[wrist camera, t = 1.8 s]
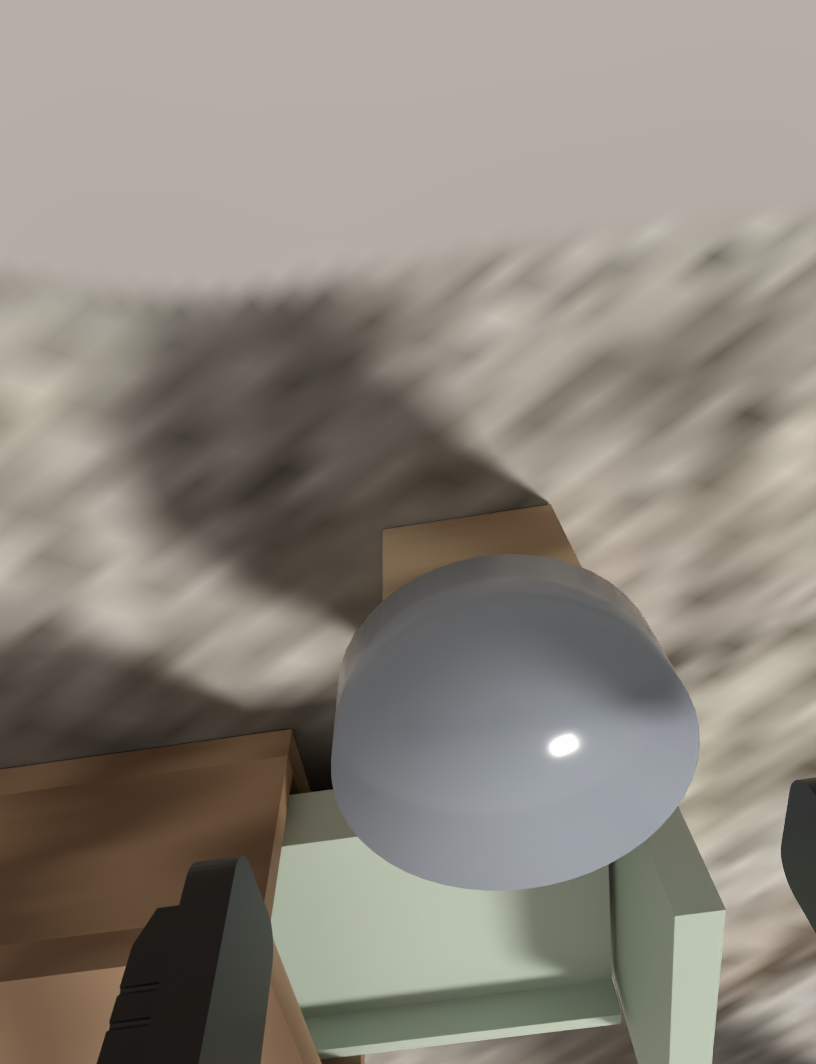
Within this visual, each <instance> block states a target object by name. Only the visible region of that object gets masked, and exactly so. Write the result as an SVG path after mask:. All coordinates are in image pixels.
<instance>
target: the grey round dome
mask: <svg viewBox="0 0 816 1064" xmlns="http://www.w3.org/2000/svg"><path fill="white" fill-rule="evenodd" d="M699 747H700V740H699V725H698V721H697V716H696V712H695V708H694V706H693V704H692V701H691V699H690V697H689V694H688V692H687V691H686V689H685V687H684V685H683V684H682V682H681V680H680V678H679V677H678V675H677V673H676V672H675V670H674V668H673V666H672V665H671V663H670V661H669V659H668V658H667V656H666V654H665V653H664V651H663V649H662V647H661V646H660V644H659V642H658V641H657V639H656V637H655V635H654V634H653V632H652V630H651V628H650V627H649V625H648V623H647V622H646V620H645V619H644V617H643V616H642V614H641V613H640V611H639V609H638V608H637V607H636V606H635V605H634V604H633V603H632V601H631V600H630V599H629V598H628V597H627V596H626V595H625V594H624V593H623V592H621V591H620V590H619V589H618V588H616V587H615V586H614V585H613V584H611V583H610V582H609V581H607V580H605V579H603V578H602V577H600V576H598V575H597V574H595V573H593V572H591V571H589V570H586V569H584V568H582V567H579V566H577V565H574V564H572V563H568V562H564V561H561V560H557V559H553V558H548V557H541V556H534V555H518V554H502V555H491V556H481V557H476V558H471V559H467V560H462V561H458V562H455V563H452V564H449V565H445V566H442V567H439V568H436V569H434V570H432V571H430V572H428V573H426V574H423V575H421V576H419V577H417V578H415V579H413V580H412V581H410V582H409V583H407V584H405V585H404V586H402V587H400V588H399V589H397V590H396V591H395V592H393V593H392V594H391V595H390V596H388V597H387V598H386V599H385V600H383V601H382V602H381V603H380V604H379V605H378V606H377V607H376V608H375V609H374V610H373V611H372V612H371V613H370V614H369V615H368V616H367V617H366V619H365V620H364V621H363V623H362V624H361V626H360V627H359V628H358V630H357V631H356V632H355V634H354V636H353V638H352V640H351V642H350V644H349V645H348V647H347V649H346V652H345V655H344V658H343V661H342V664H341V667H340V672H339V678H338V685H337V696H336V708H335V720H334V732H333V744H332V755H331V779H332V785H333V790H334V795H335V798H336V801H337V803H338V806H339V809H340V811H341V813H342V815H343V816H344V818H345V820H346V821H347V823H348V825H349V827H350V828H351V829H352V830H353V831H354V833H355V834H356V835H357V836H358V838H359V839H360V840H361V841H362V842H363V843H364V844H365V845H366V846H368V847H369V848H370V849H371V850H372V851H373V852H374V853H375V854H377V855H378V856H380V857H381V858H383V859H384V860H386V861H387V862H388V863H390V864H392V865H394V866H396V867H397V868H399V869H401V870H403V871H405V872H407V873H409V874H412V875H415V876H417V877H420V878H422V879H425V880H428V881H432V882H435V883H439V884H442V885H447V886H452V887H458V888H463V889H473V890H484V891H508V890H520V889H530V888H536V887H542V886H547V885H552V884H556V883H560V882H563V881H567V880H571V879H574V878H577V877H579V876H582V875H585V874H588V873H591V872H593V871H595V870H597V869H599V868H602V867H604V866H606V865H608V864H610V863H612V862H614V861H615V860H617V859H619V858H621V857H622V856H624V855H626V854H627V853H629V852H630V851H632V850H633V849H635V848H636V847H637V846H639V845H640V844H642V843H643V842H644V841H646V840H647V839H648V838H649V837H650V836H651V835H652V834H653V833H654V832H656V831H657V830H658V829H659V828H660V827H661V826H662V825H663V824H664V822H665V821H666V820H667V819H668V818H669V817H670V816H671V814H672V813H673V812H674V811H675V809H676V808H677V806H678V805H679V803H680V802H681V800H682V799H683V797H684V795H685V793H686V791H687V789H688V787H689V785H690V783H691V781H692V778H693V775H694V772H695V769H696V766H697V761H698V754H699Z"/></svg>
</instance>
